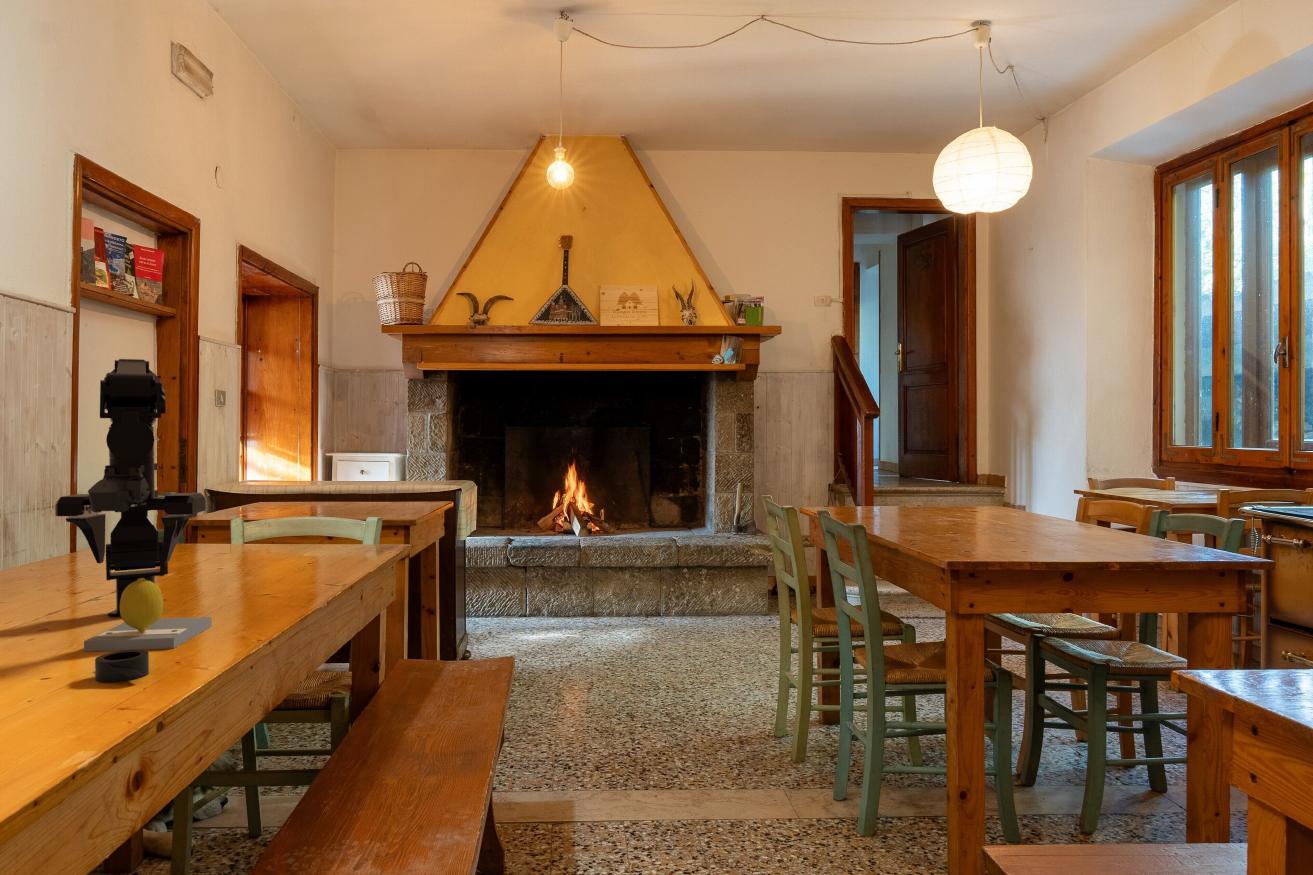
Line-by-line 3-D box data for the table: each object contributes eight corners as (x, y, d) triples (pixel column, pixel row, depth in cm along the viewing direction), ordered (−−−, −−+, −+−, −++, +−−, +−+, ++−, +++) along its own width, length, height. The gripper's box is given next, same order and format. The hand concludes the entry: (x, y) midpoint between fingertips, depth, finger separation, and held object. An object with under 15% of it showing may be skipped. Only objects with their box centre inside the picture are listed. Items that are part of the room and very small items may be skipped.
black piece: (168, 665, 116) (167, 644, 116) (142, 687, 107) (142, 663, 107) (103, 670, 115) (103, 648, 115) (71, 692, 105) (71, 668, 105)
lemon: (149, 636, 125) (148, 580, 125) (111, 636, 125) (110, 581, 125) (171, 627, 131) (170, 574, 130) (135, 627, 131) (134, 574, 131)
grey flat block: (131, 628, 137) (130, 618, 137) (211, 626, 138) (211, 615, 138) (84, 651, 123) (83, 639, 123) (174, 648, 125) (173, 636, 125)
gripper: (32, 460, 120) (34, 573, 120) (176, 460, 122) (177, 570, 123) (75, 457, 131) (76, 560, 131) (206, 456, 133) (207, 557, 134)
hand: (133, 562), depth 130 cm, fingers open, 9 cm apart
